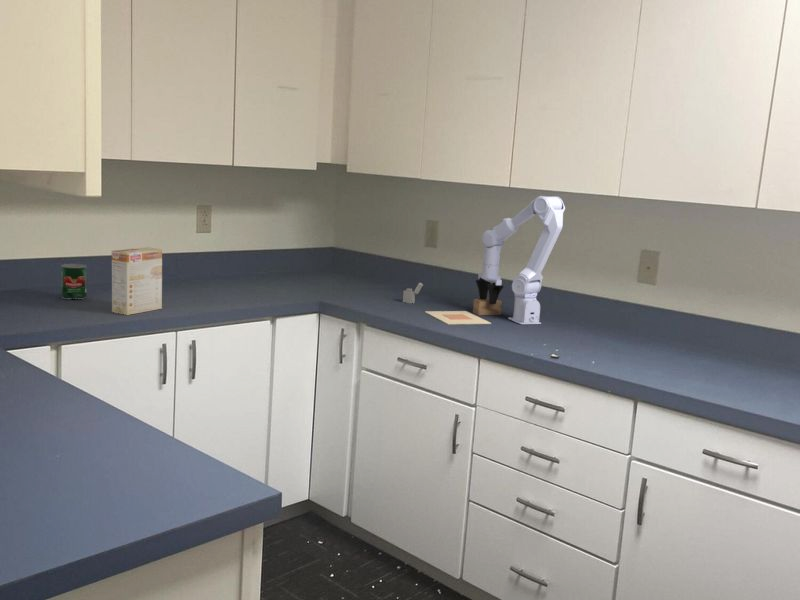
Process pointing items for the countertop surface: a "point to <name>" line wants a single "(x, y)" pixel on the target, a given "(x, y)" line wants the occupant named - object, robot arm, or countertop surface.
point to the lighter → (411, 294)
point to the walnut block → (486, 307)
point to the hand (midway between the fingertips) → (487, 301)
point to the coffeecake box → (136, 280)
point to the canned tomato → (73, 281)
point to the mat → (457, 317)
